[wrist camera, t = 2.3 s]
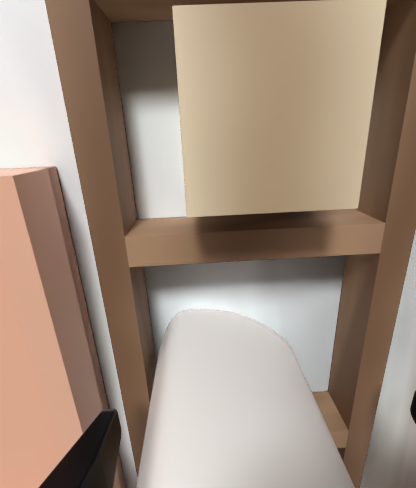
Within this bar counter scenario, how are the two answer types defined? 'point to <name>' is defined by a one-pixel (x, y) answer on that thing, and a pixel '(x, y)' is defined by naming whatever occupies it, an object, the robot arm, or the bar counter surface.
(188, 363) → the eye dropper bottle
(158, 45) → the bar counter surface
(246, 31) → the block
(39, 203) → the tray
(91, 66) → the frame
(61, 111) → the bar counter surface
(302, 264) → the bar counter surface
